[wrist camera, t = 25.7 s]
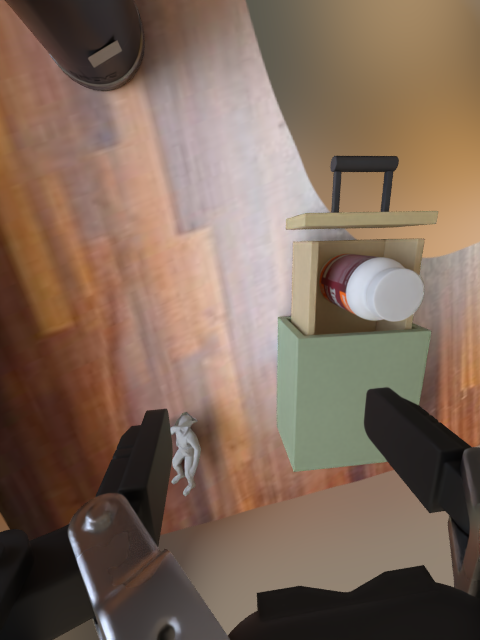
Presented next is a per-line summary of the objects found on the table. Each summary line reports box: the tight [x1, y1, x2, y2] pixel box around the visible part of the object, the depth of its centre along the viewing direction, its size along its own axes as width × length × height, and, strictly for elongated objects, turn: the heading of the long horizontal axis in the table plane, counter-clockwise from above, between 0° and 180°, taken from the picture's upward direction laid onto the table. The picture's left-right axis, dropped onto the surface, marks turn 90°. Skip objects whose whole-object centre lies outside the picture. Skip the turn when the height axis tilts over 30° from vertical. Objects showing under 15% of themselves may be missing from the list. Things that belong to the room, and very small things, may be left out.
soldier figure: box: [170, 412, 201, 496], centre depth 39 cm, size 8×5×12 cm
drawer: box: [286, 156, 438, 336], centre depth 32 cm, size 21×14×7 cm, turn 2°
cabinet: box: [277, 316, 431, 472], centre depth 36 cm, size 17×15×9 cm
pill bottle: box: [318, 254, 424, 322], centre depth 29 cm, size 6×6×11 cm
